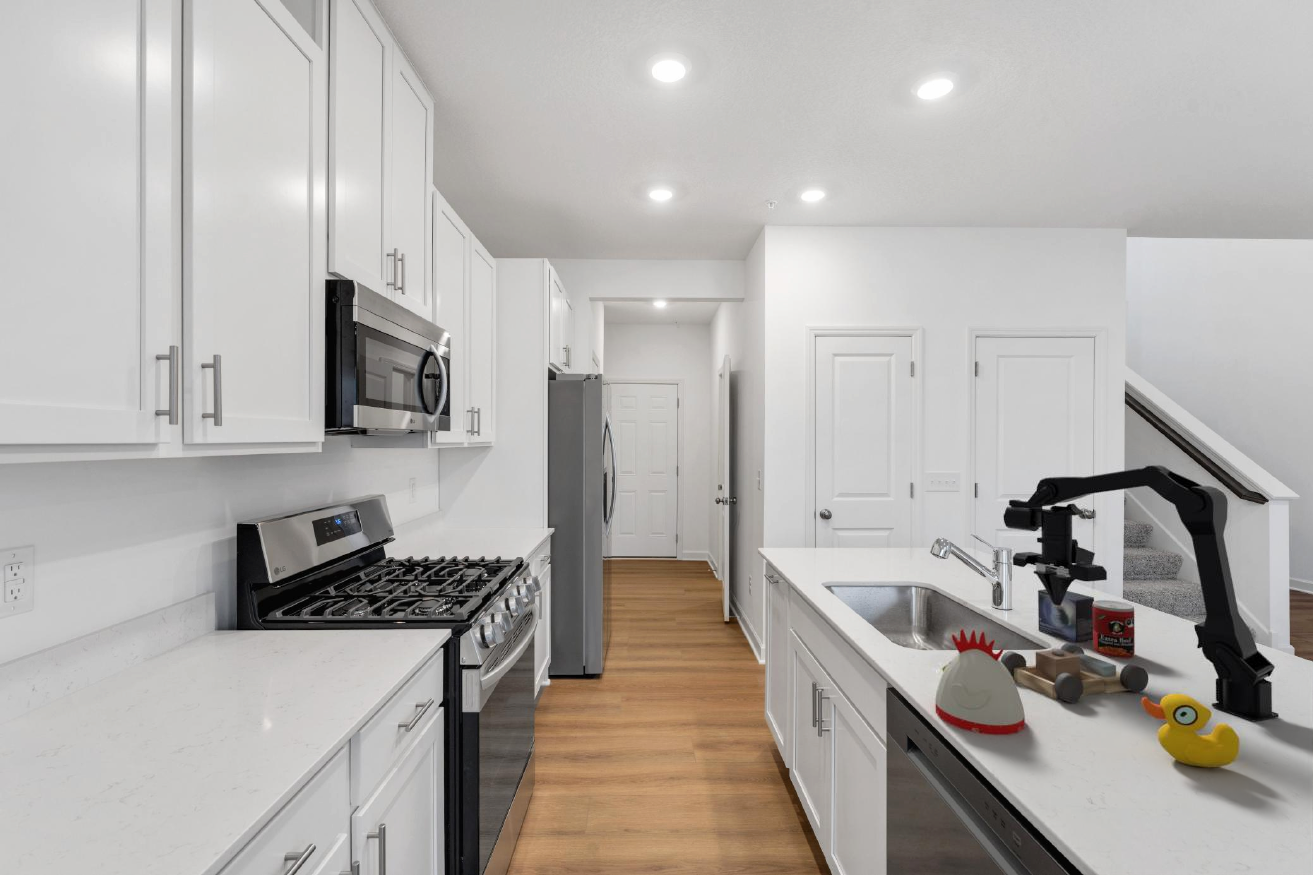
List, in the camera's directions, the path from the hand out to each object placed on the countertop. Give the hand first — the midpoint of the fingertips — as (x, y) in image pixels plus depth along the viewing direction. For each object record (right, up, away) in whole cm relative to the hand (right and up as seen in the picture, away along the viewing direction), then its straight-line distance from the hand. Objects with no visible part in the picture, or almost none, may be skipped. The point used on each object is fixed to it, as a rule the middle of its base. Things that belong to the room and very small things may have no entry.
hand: (1057, 605), depth 137 cm
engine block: (-9, -12, -15) cm, 21 cm away
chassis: (-6, -12, -14) cm, 19 cm away
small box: (+13, -12, +17) cm, 25 cm away
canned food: (+15, -12, +4) cm, 20 cm away
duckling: (-8, -12, -44) cm, 46 cm away
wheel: (0, -12, -5) cm, 13 cm away
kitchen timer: (-32, -12, -28) cm, 44 cm away
